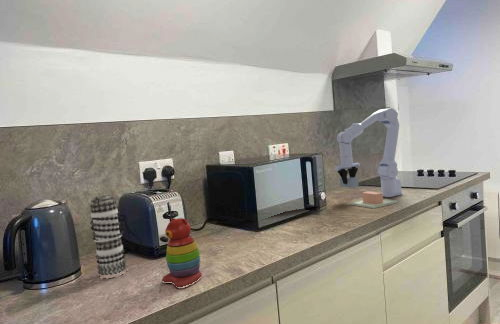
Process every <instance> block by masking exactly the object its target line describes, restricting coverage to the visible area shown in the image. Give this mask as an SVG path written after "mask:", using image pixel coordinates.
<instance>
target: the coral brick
mask: <svg viewBox="0 0 500 324" xmlns="http://www.w3.org/2000/svg"><path fill="white" fill-rule="evenodd" d="M361 195H362V200H363V202H367V203H373V204H379V203H383V199H384V196H383V193H382V192H379V191H378V192H376V191H369V190H367V191H363V192H362V194H361Z"/></svg>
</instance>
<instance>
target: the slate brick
mask: <svg viewBox="0 0 500 324" xmlns="http://www.w3.org/2000/svg"><path fill="white" fill-rule="evenodd" d="M338 180H339V186H340V187H342V188H350V189H351V188H358V187H359V186H360V185H359V178H358V176H357V177H356V176H355V177H350V176H347V184H343V181H342V178H341V176H339V179H338Z"/></svg>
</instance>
